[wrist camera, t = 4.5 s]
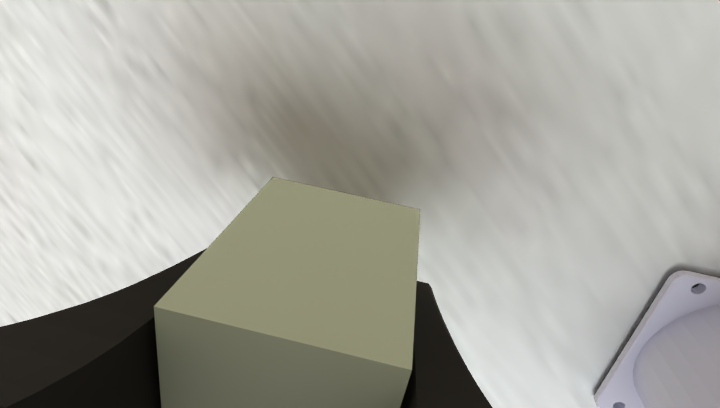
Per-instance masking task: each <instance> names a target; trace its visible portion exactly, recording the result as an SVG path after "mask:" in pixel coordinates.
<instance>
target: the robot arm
mask: <svg viewBox="0 0 720 408" xmlns="http://www.w3.org/2000/svg"><path fill="white" fill-rule="evenodd" d="M205 250H206V249H205ZM205 250H203V251H201V252H199V253H197V254H195V255H194V256H192V257H190V258H188V259H186V260H184V261H182V262H180V263H178V264H176V265H174V266H172V267H170V268H168V269H166V270H164V271H162V272H160V273H157V274H155V275H153V276H151V277H149V278H147V279H144V280H142V281H140V282H138V283H136V284H133V285H131V286H129V287H126V288H124V289H121V290H119V291H116V292H114V293H111V294H109V295H106V296H103V297H100V298H98V299H95V300H92V301H90V302H87V303H84V304H81V305H77V306H74V307H71V308H68V309H64V310H61V311H58V312H54V313H51V314H48V315H44V316H41V317H38V318H34V319H30V320H27V321H23V322H19V323H15V324H11V325H7V326H2V327H0V408H161V397H160V383H159V370H158V357H157V343H156V330H155V317H154V306H155V305H156V303H157V302H158V301H159V300H160V299H161V298H162V297H163V296H164V295H165V294H166V293H167V292H168V290H169V289H170V288H171V287H172V286H173V285H174V284H175V283H176V282H177V281H178V280H179V278H180V277H181V276H182V275H183V274H184V273H185V272H186V271H187V270H188V269H189V268H190V267H191V265H192V264H193V263H194V262H195V261H196V260H197V259H198V258H199V257H200V256H201V255H202V254H203V252H204V251H205ZM698 283H700V284H699V285H698V286H697V287H695V288H691V287H692V286H693V285H695V284H698ZM594 399H595V402H596V404H597V406H598V407H599V408H720V278H718V277H713V276H709V275H704V274H700V273H695V272H691V271H683V270H681V271H677V272H675V273H673V274H671V275H670V276H669V277H668V279H667V280H666V282H665V284H664V285H663V287H662V288H661V290H660V291H659V293H658V295H657V296H656V298H655V299H654V301H653V303H652V304H651V306H650V307H649V309H648V311H647V312H646V314H645V315H644V317H643V319H642V320H641V322H640V323H639V325H638V327H637V328H636V330H635V331H634V333H633V335H632V336H631V338H630V339H629V341H628V342H627V344H626V346H625V347H624V349H623V350H622V352H621V354H620V355H619V357H618V358H617V360H616V362H615V363H614V365H613V366H612V368H611V370H610V371H609V373H608V374H607V376H606V378H605V379H604V381H603V382H602V384H601V385H600V387H599V389H598V390H597V392H596V393H595V396H594ZM616 402H617V403H616ZM400 408H492V406H491V405H490V403H489V402H488V400H487V399H486V397H485V396H484V394H483V393H482V391H481V390H480V388H479V387H478V385H477V383H476V382H475V380H474V378H473V377H472V375H471V373H470V372H469V370H468V368H467V366H466V365H465V363H464V361H463V359H462V357H461V355H460V354H459V352H458V350H457V348H456V346H455V344H454V342H453V340H452V337H451V335H450V333H449V331H448V329H447V327H446V325H445V322H444V320H443V318H442V315H441V313H440V310H439V308H438V305H437V303H436V300H435V297H434V294H433V292H432V288H431V287H430V285H429V284H428V283H423V282H419V281H417V283H416V302H415V322H414V341H413V360H412V372H411V375H410V378H409V381H408V384H407V387H406V390H405V394H404V397H403V400H402V403H401V406H400Z"/></svg>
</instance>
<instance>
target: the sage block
mask: <svg viewBox="0 0 720 408" xmlns="http://www.w3.org/2000/svg"><path fill="white" fill-rule="evenodd" d="M419 225H420V209H415V208H411V207H406V206H401V205H397V204H392V203H388V202H383V201H379V200H374V199H370V198H365V197H361V196H356V195H352V194H347V193H343V192H338V191H334V190H329V189H325V188H320V187H315V186H311V185H306V184H302V183H297V182H293V181H288V180H284V179H279V178H275V177H273V178H272V179H271V180H270V181H269V182H268V183H267V184H266V185H265V186H264V187H263V188H262V189H261V191H260V192H259V193H258V194H257V195H256V196H255V197H254V198H253V199H252V200H251V201H250V203H249V204H248V205H247V206H246V207H245V208H244V209H243V210H242V211H241V212H240V213H239V214H238V216H237V217H236V218H235V219H234V220H233V221H232V222H231V223H230V224H229V225H228V226H227V227H226V229H225V230H224V231H223V232H222V233H221V234H220V235H219V236H218V237H217V238H216V239H215V241H214V242H213V243H212V244H211V245H210V246H209V247H208V248H207V249H206V250H205V251H204V252H203V254H202V255H201V256H200V257H199V258H198V259H197V260H196V261H195V262H194V263H193V264H192V265H191V267H190V268H189V269H188V270H187V271H186V272H185V273H184V274H183V275H182V276H181V277H180V278H179V280H178V281H177V282H176V283H175V284H174V285H173V286H172V287H171V288H170V289H169V290H168V292H167V293H166V294H165V295H164V296H163V297H162V298H161V299H160V300H159V301H158V302H157V303H156V305H155V306H154V317H155V330H156V343H157V357H158V370H159V383H160V397H161V408H400V406H401V403H402V400H403V397H404V394H405V390H406V387H407V384H408V381H409V378H410V375H411V372H412V360H413V341H414V322H415V302H416V283H417V264H418V244H419Z"/></svg>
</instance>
